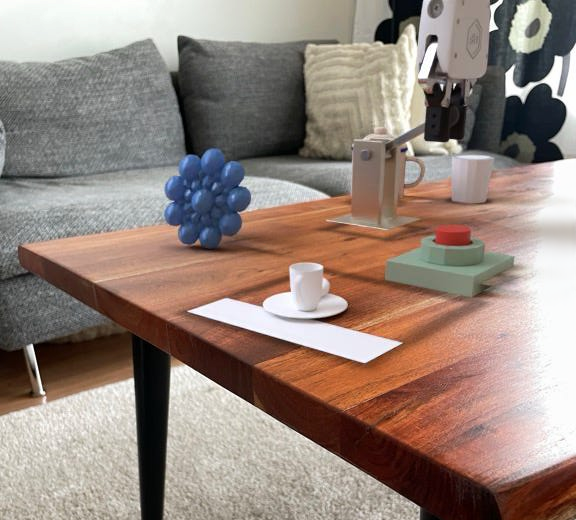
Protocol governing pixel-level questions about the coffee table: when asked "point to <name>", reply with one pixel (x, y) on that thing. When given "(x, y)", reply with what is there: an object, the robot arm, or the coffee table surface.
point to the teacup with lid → (403, 158)
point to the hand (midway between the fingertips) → (444, 138)
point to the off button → (453, 235)
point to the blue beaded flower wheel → (206, 199)
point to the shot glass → (471, 177)
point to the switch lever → (416, 132)
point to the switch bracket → (374, 186)
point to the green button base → (448, 267)
